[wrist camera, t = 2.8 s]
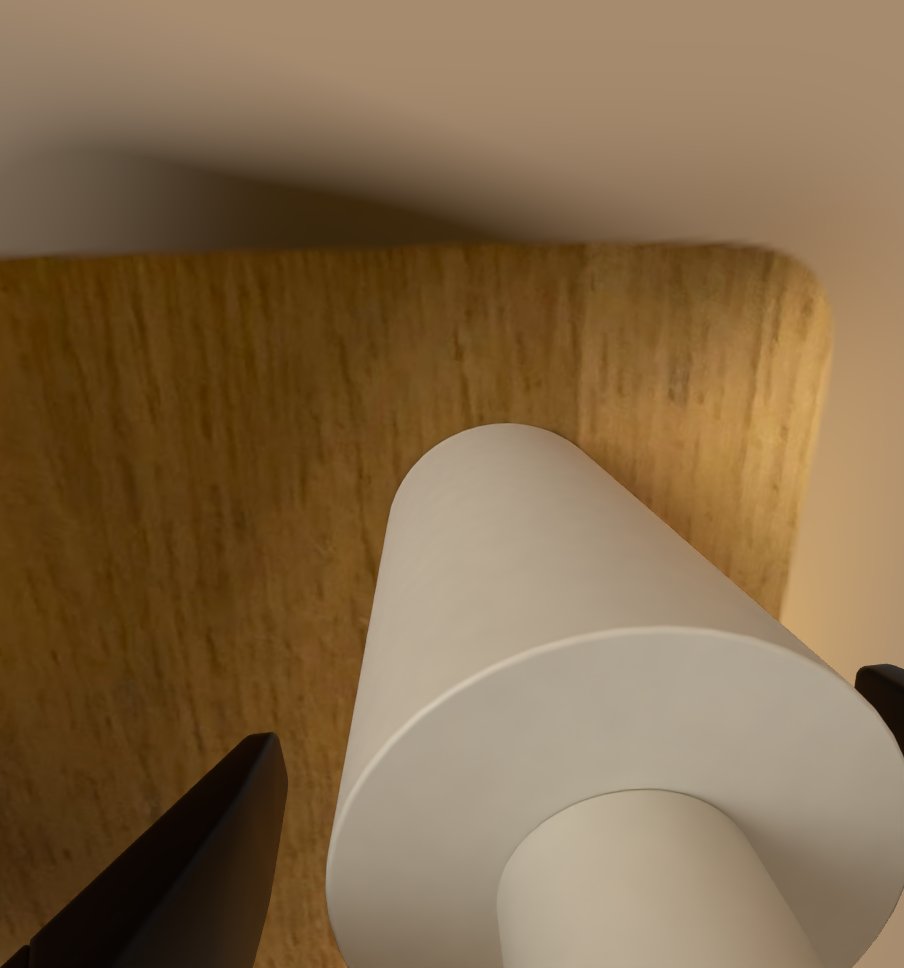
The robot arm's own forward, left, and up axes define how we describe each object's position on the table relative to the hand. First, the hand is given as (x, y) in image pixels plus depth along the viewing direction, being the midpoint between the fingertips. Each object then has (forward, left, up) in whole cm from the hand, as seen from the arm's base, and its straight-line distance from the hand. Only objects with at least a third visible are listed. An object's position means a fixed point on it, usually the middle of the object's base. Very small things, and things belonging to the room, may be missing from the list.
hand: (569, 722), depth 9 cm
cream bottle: (0, 0, -7) cm, 7 cm away
